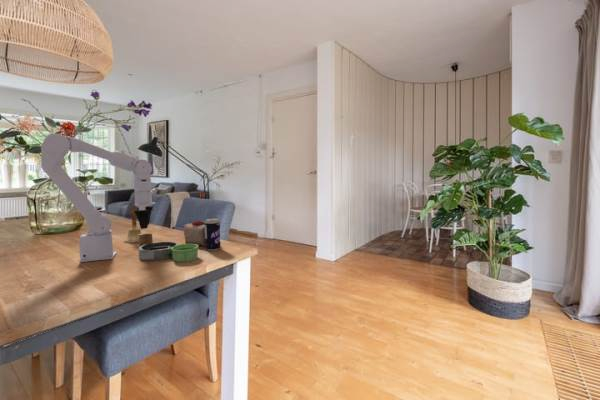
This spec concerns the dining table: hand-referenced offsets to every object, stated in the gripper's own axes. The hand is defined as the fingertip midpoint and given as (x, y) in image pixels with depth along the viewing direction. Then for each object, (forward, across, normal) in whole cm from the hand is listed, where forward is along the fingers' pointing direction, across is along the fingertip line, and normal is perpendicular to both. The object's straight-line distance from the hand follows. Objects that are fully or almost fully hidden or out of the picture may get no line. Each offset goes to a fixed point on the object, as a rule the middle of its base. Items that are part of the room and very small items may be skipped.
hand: (145, 226), depth 113 cm
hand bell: (+10, +20, +6) cm, 23 cm away
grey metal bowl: (+9, -9, -5) cm, 14 cm away
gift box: (+10, +3, -20) cm, 22 cm away
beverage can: (+10, -9, -24) cm, 27 cm away
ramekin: (+10, -17, -14) cm, 24 cm away
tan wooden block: (+10, 0, 0) cm, 10 cm away
